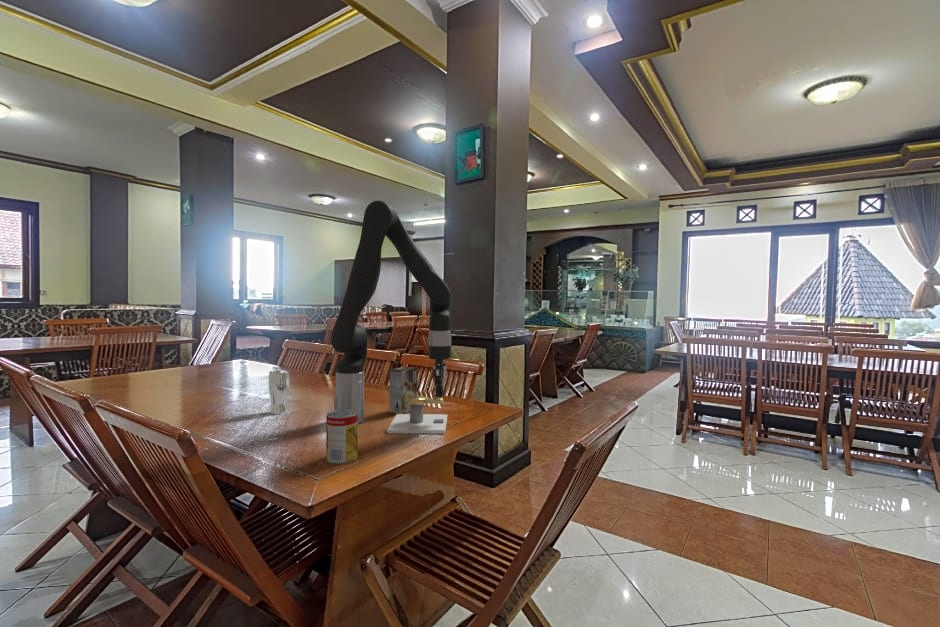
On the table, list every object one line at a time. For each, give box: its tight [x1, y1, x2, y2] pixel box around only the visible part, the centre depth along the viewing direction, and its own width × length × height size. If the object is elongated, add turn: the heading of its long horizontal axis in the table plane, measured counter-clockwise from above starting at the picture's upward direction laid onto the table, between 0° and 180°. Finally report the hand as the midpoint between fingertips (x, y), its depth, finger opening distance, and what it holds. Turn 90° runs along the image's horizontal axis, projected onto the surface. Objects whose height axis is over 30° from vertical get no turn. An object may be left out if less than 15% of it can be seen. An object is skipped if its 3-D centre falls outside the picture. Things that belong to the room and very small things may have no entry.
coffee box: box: [388, 366, 418, 414], centre depth 162 cm, size 9×6×16 cm
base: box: [386, 404, 448, 435], centre depth 144 cm, size 18×18×7 cm
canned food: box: [325, 409, 358, 465], centre depth 114 cm, size 8×8×12 cm
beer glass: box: [268, 369, 290, 415], centre depth 158 cm, size 7×7×15 cm
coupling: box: [406, 379, 444, 406], centre depth 144 cm, size 7×12×8 cm, turn 83°
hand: (439, 395), depth 143 cm, fingers closed on coupling, 2 cm apart
